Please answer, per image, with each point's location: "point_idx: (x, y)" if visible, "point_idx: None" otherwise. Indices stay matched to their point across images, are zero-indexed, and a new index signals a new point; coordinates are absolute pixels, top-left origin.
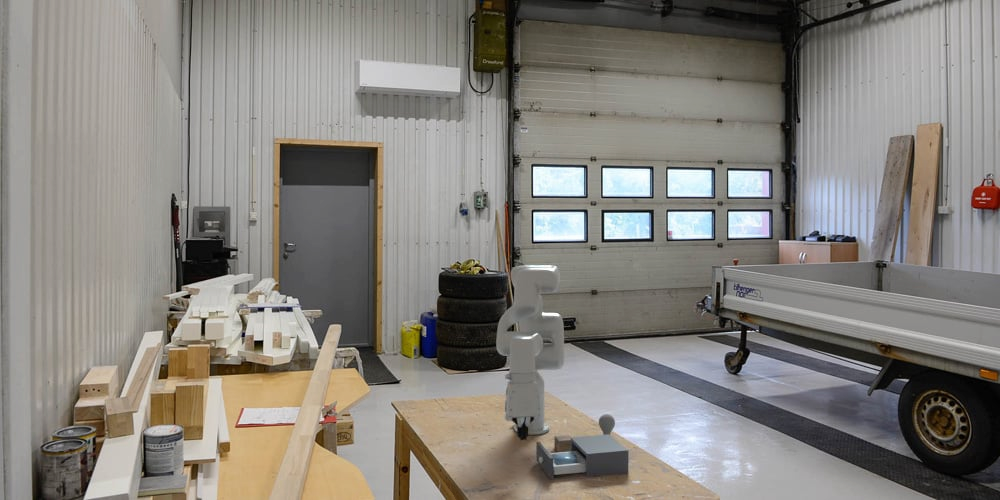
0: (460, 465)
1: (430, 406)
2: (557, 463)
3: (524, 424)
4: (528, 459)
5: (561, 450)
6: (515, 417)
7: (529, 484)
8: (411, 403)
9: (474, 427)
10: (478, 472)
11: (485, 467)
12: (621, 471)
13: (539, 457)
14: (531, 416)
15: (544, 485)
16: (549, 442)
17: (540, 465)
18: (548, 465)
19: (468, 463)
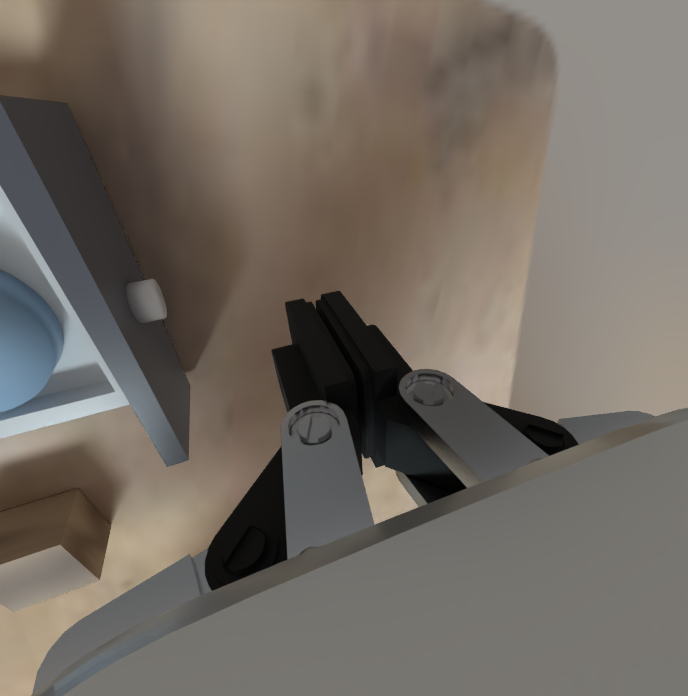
0: (485, 337)
1: None
2: (16, 284)
3: (356, 427)
4: (230, 409)
5: (60, 502)
6: (668, 416)
7: (229, 63)
8: None
9: None
10: (450, 273)
11: (413, 322)
12: None
13: (160, 310)
14: (286, 567)
15: (109, 9)
16: (141, 558)
17: (163, 327)
18: (62, 155)
19: (457, 355)
